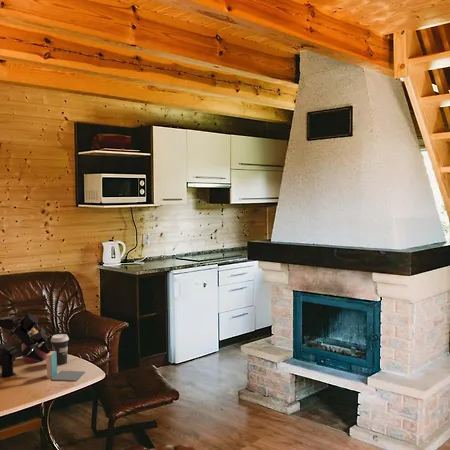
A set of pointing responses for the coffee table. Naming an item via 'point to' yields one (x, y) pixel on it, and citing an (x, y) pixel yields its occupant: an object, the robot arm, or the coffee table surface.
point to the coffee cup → (60, 347)
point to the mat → (68, 376)
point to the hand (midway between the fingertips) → (46, 357)
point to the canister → (42, 354)
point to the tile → (51, 364)
